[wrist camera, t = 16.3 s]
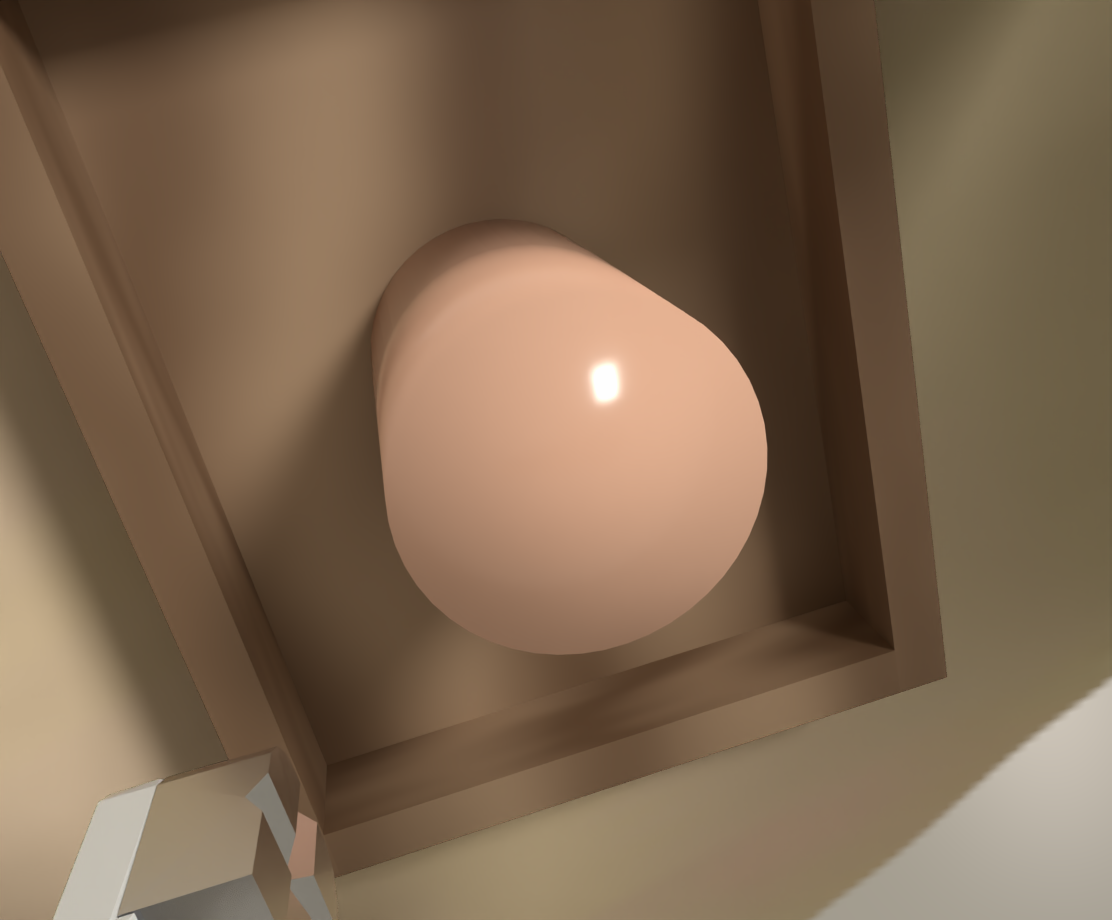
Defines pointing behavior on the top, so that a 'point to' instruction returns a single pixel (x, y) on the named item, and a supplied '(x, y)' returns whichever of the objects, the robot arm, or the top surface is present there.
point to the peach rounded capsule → (557, 441)
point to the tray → (346, 373)
